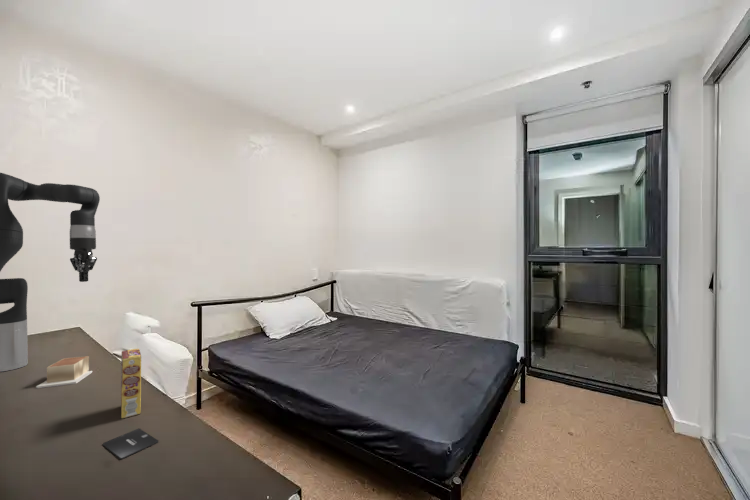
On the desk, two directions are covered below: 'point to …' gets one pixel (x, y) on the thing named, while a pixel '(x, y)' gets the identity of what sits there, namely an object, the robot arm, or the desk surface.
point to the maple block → (67, 369)
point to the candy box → (130, 383)
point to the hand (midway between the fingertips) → (83, 281)
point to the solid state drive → (130, 443)
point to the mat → (64, 381)
